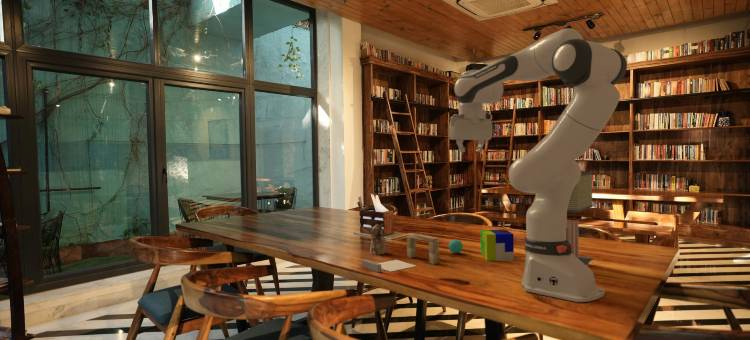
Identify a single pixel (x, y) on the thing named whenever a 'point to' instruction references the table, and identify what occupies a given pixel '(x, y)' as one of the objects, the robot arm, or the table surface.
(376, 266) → the stopper strip
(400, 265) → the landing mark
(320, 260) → the table surface
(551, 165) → the robot arm
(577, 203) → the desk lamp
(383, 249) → the figurine
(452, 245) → the ball
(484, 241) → the puzzle toy
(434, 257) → the bridge
